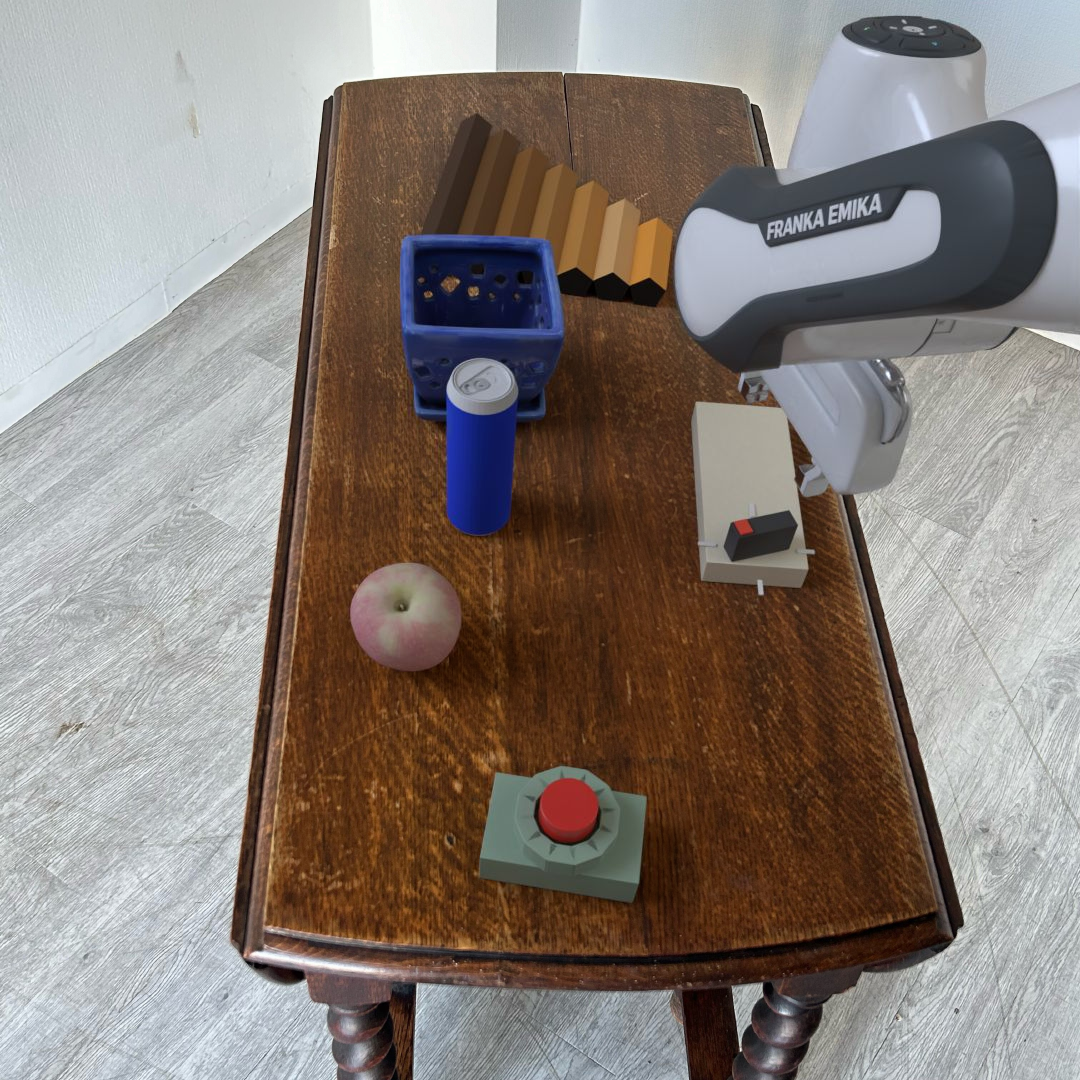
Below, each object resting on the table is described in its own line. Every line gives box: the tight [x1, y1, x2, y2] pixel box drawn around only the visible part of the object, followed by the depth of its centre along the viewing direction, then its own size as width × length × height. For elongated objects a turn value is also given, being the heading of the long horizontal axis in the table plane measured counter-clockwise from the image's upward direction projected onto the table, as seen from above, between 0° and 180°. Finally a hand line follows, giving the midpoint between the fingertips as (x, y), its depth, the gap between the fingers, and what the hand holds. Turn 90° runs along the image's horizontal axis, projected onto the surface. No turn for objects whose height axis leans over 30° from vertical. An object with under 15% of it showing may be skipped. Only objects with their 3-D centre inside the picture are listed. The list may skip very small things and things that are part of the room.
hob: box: [690, 401, 816, 597], centre depth 92 cm, size 21×9×3 cm, turn 178°
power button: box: [539, 778, 598, 843], centre depth 69 cm, size 4×4×2 cm
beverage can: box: [446, 358, 518, 537], centre depth 85 cm, size 5×5×15 cm
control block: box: [478, 765, 648, 904], centre depth 71 cm, size 10×6×5 cm, turn 82°
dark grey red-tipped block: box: [724, 510, 798, 562], centre depth 86 cm, size 5×2×3 cm, turn 108°
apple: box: [349, 562, 462, 672], centre depth 79 cm, size 8×8×8 cm
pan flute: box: [419, 112, 674, 308], centre depth 117 cm, size 25×3×25 cm
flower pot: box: [399, 234, 566, 423], centre depth 96 cm, size 13×13×12 cm
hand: (779, 440), depth 79 cm, fingers open, 8 cm apart
